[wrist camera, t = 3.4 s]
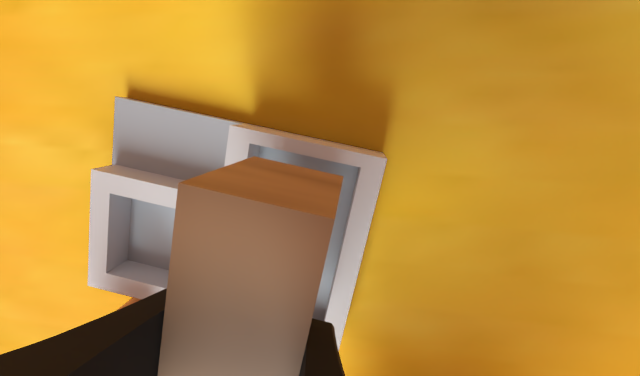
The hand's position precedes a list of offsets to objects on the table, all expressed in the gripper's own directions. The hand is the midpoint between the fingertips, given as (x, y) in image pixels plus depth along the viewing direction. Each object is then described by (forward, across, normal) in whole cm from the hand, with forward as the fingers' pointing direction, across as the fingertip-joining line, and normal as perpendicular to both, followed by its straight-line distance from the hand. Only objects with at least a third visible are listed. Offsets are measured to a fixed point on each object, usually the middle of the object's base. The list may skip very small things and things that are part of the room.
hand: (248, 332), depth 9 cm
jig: (+8, +4, 0) cm, 9 cm away
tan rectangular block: (+3, 0, 0) cm, 4 cm away
